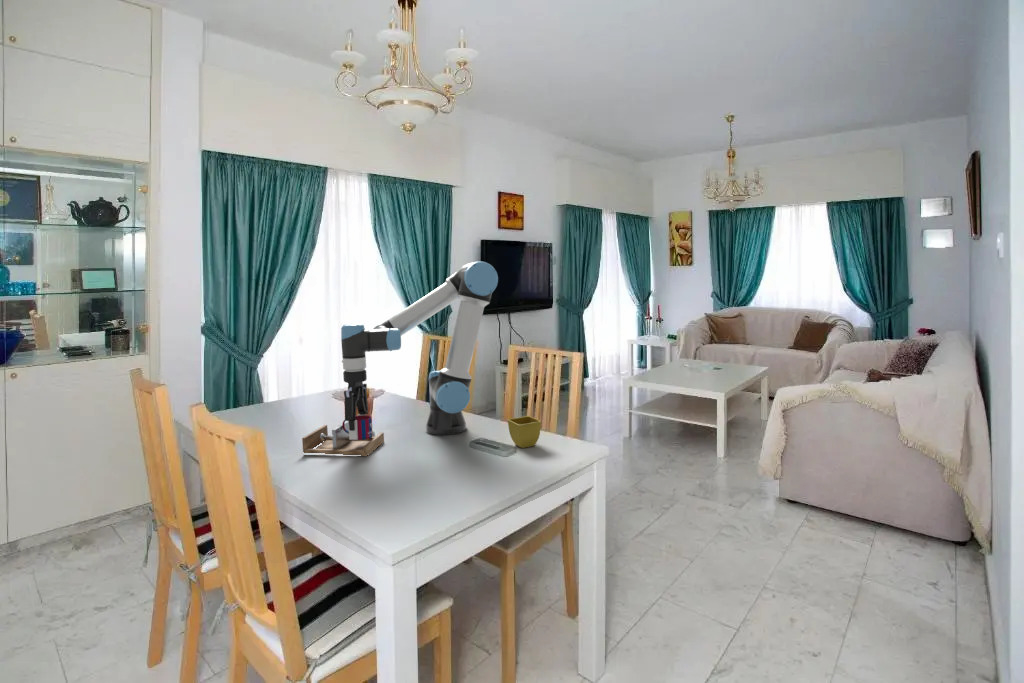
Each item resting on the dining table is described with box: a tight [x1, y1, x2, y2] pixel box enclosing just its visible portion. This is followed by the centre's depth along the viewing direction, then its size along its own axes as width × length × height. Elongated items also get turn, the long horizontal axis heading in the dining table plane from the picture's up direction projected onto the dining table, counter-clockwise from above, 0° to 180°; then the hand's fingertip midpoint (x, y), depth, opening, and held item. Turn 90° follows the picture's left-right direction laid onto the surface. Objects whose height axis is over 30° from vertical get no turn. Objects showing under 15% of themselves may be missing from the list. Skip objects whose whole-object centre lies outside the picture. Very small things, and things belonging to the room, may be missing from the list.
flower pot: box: [507, 415, 542, 449], centre depth 185 cm, size 9×9×9 cm
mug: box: [342, 414, 374, 440], centre depth 185 cm, size 7×10×7 cm
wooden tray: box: [301, 424, 385, 457], centre depth 186 cm, size 22×16×6 cm
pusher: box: [320, 421, 351, 449], centre depth 186 cm, size 8×12×7 cm, turn 173°
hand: (358, 435), depth 185 cm, fingers closed on mug, 7 cm apart
